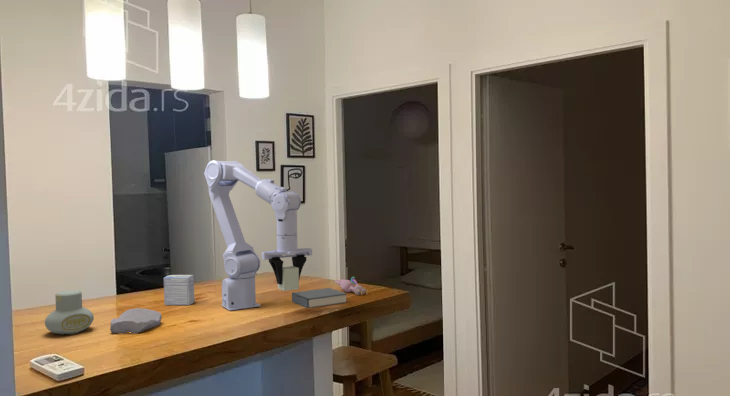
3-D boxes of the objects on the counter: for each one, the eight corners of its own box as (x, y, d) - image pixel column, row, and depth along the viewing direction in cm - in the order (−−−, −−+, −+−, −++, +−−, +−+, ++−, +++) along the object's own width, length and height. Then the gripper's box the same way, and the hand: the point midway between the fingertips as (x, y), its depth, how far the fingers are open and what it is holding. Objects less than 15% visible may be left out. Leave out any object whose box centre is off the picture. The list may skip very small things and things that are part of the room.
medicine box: (195, 302, 176) (194, 274, 175) (189, 305, 171) (188, 277, 171) (170, 302, 176) (169, 274, 176) (164, 305, 172) (163, 277, 172)
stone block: (163, 328, 152) (127, 321, 152) (166, 311, 152) (130, 304, 152) (145, 343, 140) (106, 335, 140) (148, 324, 140) (109, 316, 140)
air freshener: (52, 339, 136) (50, 298, 136) (40, 333, 142) (39, 293, 142) (99, 330, 144) (97, 291, 144) (86, 324, 150) (84, 287, 150)
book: (307, 309, 165) (307, 298, 165) (291, 302, 174) (291, 292, 174) (346, 303, 172) (346, 293, 171) (329, 297, 181) (329, 287, 181)
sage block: (284, 290, 157) (283, 269, 157) (277, 288, 161) (277, 267, 160) (299, 289, 159) (298, 267, 159) (292, 286, 163) (292, 265, 163)
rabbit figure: (371, 298, 184) (342, 284, 195) (373, 280, 183) (343, 268, 194) (357, 301, 180) (327, 287, 191) (358, 283, 179) (329, 270, 190)
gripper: (267, 237, 152) (269, 288, 153) (316, 234, 160) (317, 282, 160) (258, 235, 158) (259, 284, 159) (305, 232, 166) (306, 278, 166)
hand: (288, 282), depth 160 cm, fingers closed on sage block, 4 cm apart
